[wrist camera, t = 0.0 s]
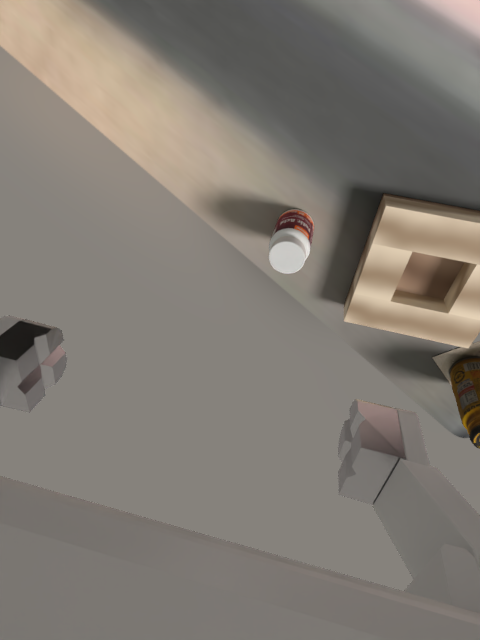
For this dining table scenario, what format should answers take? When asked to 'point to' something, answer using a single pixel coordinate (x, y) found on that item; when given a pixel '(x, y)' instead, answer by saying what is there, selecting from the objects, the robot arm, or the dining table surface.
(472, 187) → the dining table surface
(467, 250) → the well block
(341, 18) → the dining table surface
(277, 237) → the pill bottle
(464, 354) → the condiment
